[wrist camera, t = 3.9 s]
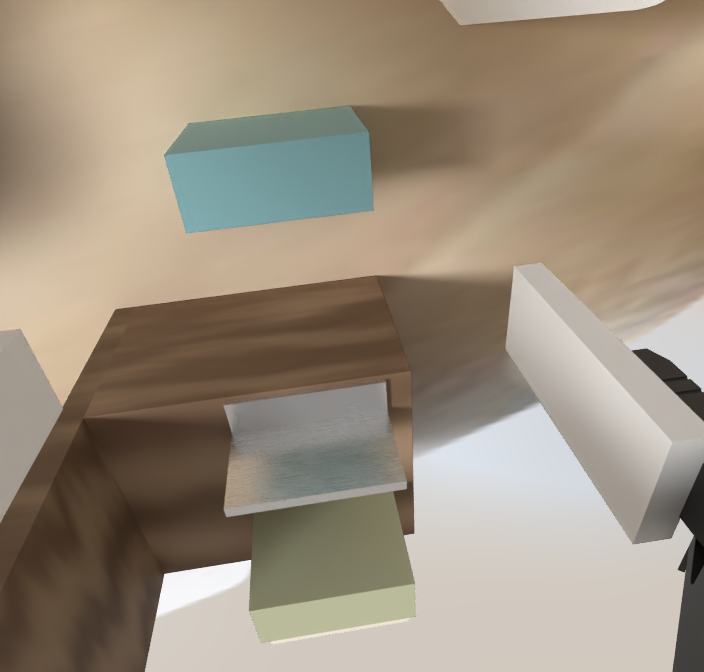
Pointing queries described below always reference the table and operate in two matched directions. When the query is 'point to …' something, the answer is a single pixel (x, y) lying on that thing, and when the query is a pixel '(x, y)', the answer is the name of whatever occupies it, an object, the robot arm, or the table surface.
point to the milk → (534, 9)
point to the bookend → (311, 448)
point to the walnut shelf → (170, 460)
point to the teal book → (271, 169)
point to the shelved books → (329, 569)
